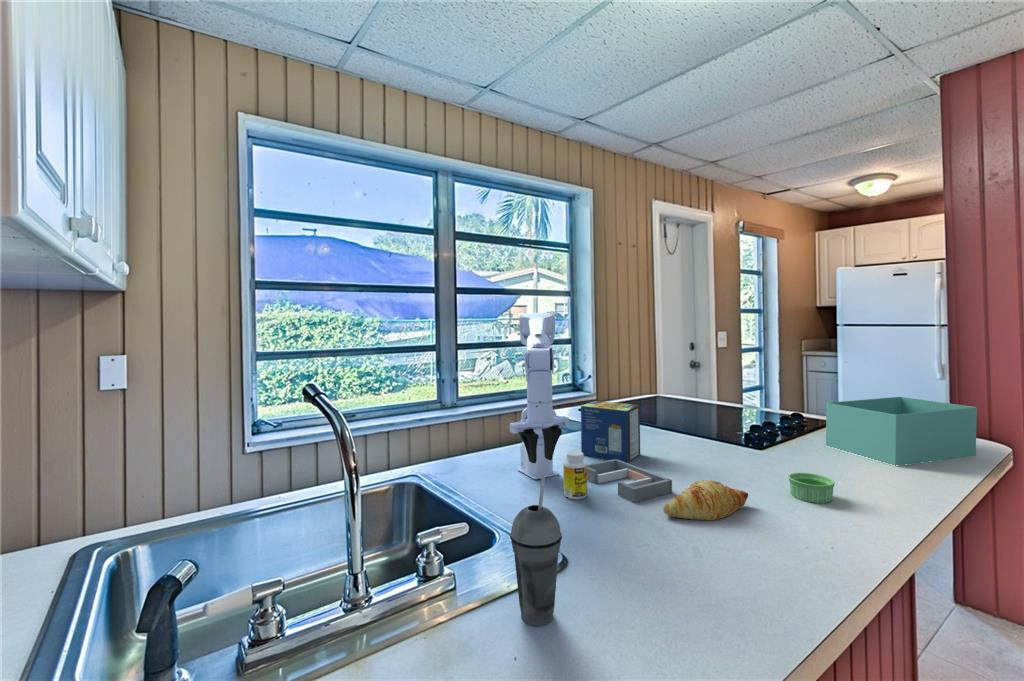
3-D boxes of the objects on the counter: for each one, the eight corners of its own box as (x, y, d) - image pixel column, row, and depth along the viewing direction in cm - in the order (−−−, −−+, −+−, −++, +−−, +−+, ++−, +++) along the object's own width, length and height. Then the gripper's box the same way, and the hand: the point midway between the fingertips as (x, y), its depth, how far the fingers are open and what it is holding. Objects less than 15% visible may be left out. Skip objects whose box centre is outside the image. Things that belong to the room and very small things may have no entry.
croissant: (673, 541, 93) (685, 514, 90) (647, 502, 102) (656, 476, 98) (755, 522, 100) (769, 497, 96) (724, 487, 108) (736, 462, 104)
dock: (581, 476, 122) (581, 465, 122) (616, 469, 128) (616, 458, 128) (633, 502, 105) (633, 489, 105) (672, 492, 110) (671, 480, 110)
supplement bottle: (574, 502, 106) (573, 458, 105) (558, 494, 110) (558, 452, 110) (592, 496, 109) (591, 453, 108) (576, 489, 113) (576, 448, 113)
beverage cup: (509, 602, 68) (506, 468, 67) (557, 598, 69) (556, 466, 68) (513, 635, 61) (511, 486, 60) (568, 631, 62) (566, 483, 61)
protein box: (595, 447, 151) (594, 400, 150) (640, 454, 142) (640, 404, 141) (580, 455, 143) (579, 405, 142) (628, 463, 134) (627, 410, 133)
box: (976, 456, 135) (977, 407, 134) (895, 467, 126) (896, 415, 126) (899, 439, 155) (900, 396, 154) (825, 448, 146) (826, 402, 146)
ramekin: (825, 492, 109) (825, 473, 109) (841, 506, 101) (841, 487, 100) (783, 489, 112) (783, 471, 111) (795, 503, 103) (795, 483, 103)
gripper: (520, 407, 97) (521, 470, 98) (576, 400, 104) (577, 460, 104) (504, 402, 103) (506, 462, 104) (559, 396, 110) (559, 452, 111)
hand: (540, 460), depth 105 cm, fingers open, 4 cm apart
